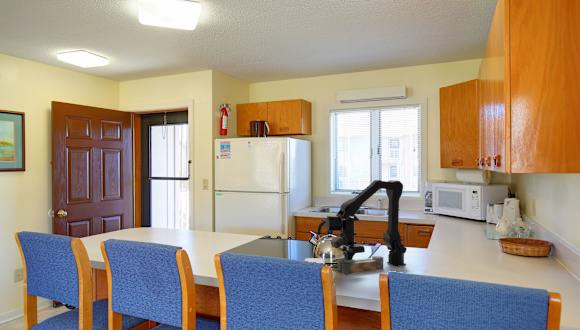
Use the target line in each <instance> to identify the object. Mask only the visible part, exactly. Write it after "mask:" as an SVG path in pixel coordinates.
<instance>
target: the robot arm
mask: <svg viewBox="0 0 580 330" xmlns="http://www.w3.org/2000/svg"><path fill="white" fill-rule="evenodd" d="M382 189H383V190H385V193H386V196H387V198H388V207H387V209H388V210H387V211H388V212H387V213H388V214H387V230H386V231H383V233H382V236H383V238H382V241H383V244H384V245H385V246H386V247H387V250H388V261H387V262H386V264H388V265H391V266H393V267H400V266H406V265H407V263H405V257H404V256H405V253H406V252H407V248H406V246H405V245H404V244H403V243H402V236H401V234H400V231H399V214H400V213H399V212H400V211H399V210H400V198H401V197H402V195H403V191H404V184H403V182H401V181H400V180H395V179H393V180H391V179H389V180H388V181H384V180H380V179H375V180H373V181H372V182H371V183H370V184H368V186H367V187H366V188H364V189H363V190H362V191H361V192H360V193H358V194H357V195H356V196H354V197H353V198H350V199H348V200H346V201H345V202H343V203H342V204H340V209H339V210H338V212H337V213H336V215H333V216H331V215H327V216H326V220H325V222H324V225H325V226H324V227H325V230H326V231H327V232H339V235H338V236H335V237H333V238H331V239H330V240H329V242H330V244H331V247H332V248H334V249H338V250H340V251H341V252H342V254H343V256H344V260H352V259H353V258H354V256H355V254H361V253H365V251H366V248H365V246H363V245H361V244H357V241H355V236H357V232H355V225H356V224H355V222H356V221H357V222H359V221H360V219H359V218H358V216H357V215H356V214H357V213H358V211H359V210H360V208H361V206H363V204H364V203H365V202H366V201H368V200H369V199H370V198H371V197H372V196H373V195H375V194H376V193H377V192H378V191H379V190H382Z"/></svg>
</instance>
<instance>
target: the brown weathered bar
mask: <svg viewBox="0 0 580 330" xmlns="http://www.w3.org/2000/svg"><path fill="white" fill-rule="evenodd" d="M366 260H372V258H370V257H364V258H363V257H362V258H354V259H353V258H352V260H345V259H343V260H337V262H336V263H337V269H336V270H337V271H338V272H341V273H342V263H346V262H348V263H349V262H357V261H366Z"/></svg>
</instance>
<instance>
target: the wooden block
mask: <svg viewBox="0 0 580 330" xmlns="http://www.w3.org/2000/svg"><path fill="white" fill-rule="evenodd" d="M383 269H384V257H383V256H380V255H373V256H371V260H366V261H357V262H349V263H348V262H346V263H342V271H341V274H342V275H345V276H347V275H352V274H361V273H368V272H375V271H379V270H383Z"/></svg>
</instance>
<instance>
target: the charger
mask: <svg viewBox="0 0 580 330" xmlns="http://www.w3.org/2000/svg"><path fill="white" fill-rule="evenodd" d="M304 261H308V262H316V263H323V264H325V265H326V260H325V259H324V258H320V257H319V258H317V257H314V258H313V257H307V258H304Z"/></svg>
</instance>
